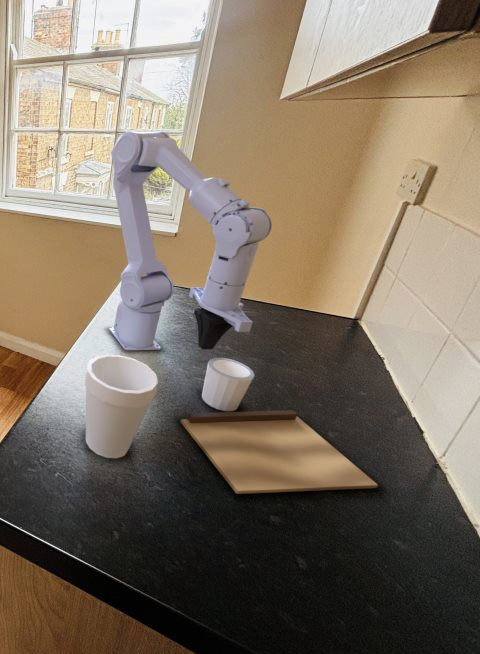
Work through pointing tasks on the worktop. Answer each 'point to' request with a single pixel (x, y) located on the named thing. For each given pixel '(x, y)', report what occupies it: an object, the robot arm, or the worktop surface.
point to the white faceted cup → (226, 383)
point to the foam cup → (116, 402)
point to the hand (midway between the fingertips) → (205, 347)
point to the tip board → (272, 453)
